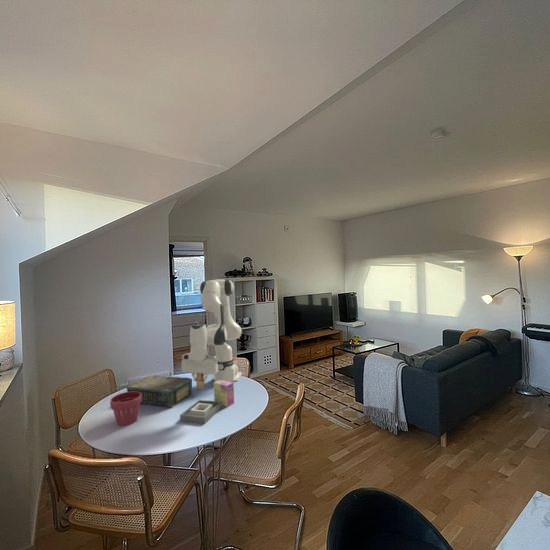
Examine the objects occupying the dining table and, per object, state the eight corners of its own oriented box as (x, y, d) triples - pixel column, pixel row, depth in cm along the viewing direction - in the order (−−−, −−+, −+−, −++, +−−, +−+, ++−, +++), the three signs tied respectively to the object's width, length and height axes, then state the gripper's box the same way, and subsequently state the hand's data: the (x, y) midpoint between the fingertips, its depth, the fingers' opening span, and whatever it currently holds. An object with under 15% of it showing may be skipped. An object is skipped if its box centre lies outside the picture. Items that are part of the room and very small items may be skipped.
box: (234, 403, 163) (233, 382, 163) (227, 407, 158) (226, 385, 158) (221, 399, 169) (220, 379, 169) (214, 403, 164) (213, 382, 164)
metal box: (171, 409, 159) (170, 391, 159) (125, 403, 170) (125, 386, 170) (194, 394, 179) (193, 378, 179) (152, 389, 190) (151, 374, 190)
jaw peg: (199, 385, 154) (198, 370, 154) (205, 386, 153) (205, 371, 153) (195, 388, 150) (194, 373, 150) (201, 389, 149) (201, 373, 149)
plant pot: (104, 428, 141) (103, 402, 141) (123, 414, 155) (122, 390, 155) (131, 429, 139) (130, 402, 139) (148, 415, 153) (147, 391, 153)
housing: (199, 405, 162) (199, 398, 162) (221, 407, 158) (221, 400, 158) (180, 420, 145) (180, 413, 145) (205, 423, 141) (204, 416, 141)
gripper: (219, 353, 152) (221, 380, 152) (186, 352, 158) (187, 378, 158) (214, 357, 146) (215, 384, 146) (179, 355, 152) (180, 382, 152)
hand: (200, 381), depth 152 cm, fingers closed on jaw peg, 4 cm apart
